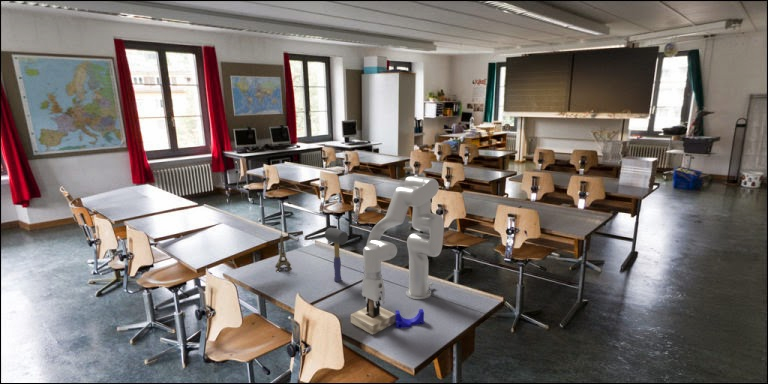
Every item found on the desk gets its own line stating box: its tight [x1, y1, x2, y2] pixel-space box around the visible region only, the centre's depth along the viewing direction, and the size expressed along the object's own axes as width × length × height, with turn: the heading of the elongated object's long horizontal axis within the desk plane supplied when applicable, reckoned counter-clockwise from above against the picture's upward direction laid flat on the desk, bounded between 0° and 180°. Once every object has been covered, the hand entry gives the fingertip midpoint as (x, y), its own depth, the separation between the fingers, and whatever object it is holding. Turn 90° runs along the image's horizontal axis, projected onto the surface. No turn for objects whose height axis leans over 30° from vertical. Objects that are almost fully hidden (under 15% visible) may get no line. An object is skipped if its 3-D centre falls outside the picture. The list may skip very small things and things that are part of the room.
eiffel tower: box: [274, 231, 293, 273], centre depth 242 cm, size 11×11×25 cm
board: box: [350, 306, 396, 336], centre depth 183 cm, size 14×14×4 cm
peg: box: [369, 299, 377, 318], centre depth 182 cm, size 4×4×10 cm
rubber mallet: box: [324, 227, 349, 283], centre depth 223 cm, size 12×8×30 cm, turn 46°
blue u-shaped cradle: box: [395, 308, 425, 329], centre depth 181 cm, size 12×4×6 cm, turn 96°
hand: (373, 312), depth 183 cm, fingers closed on peg, 3 cm apart
